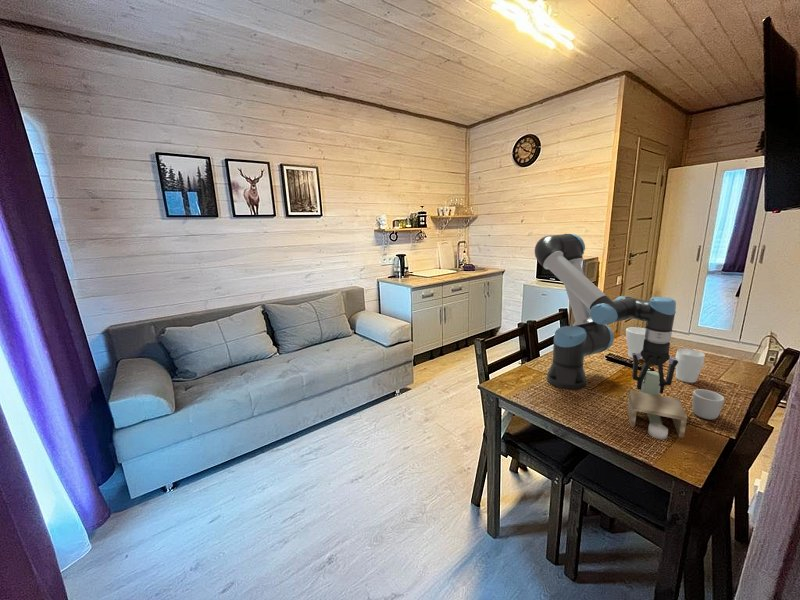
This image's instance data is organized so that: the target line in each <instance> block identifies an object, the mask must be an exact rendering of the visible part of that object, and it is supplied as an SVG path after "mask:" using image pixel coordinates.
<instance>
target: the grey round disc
mask: <svg viewBox="0 0 800 600" xmlns="http://www.w3.org/2000/svg"><path fill="white" fill-rule="evenodd" d="M647 428H648V429H647V434H649V436H651V437H653V438H654V439H658V440H666V439H667V438H668V434H669V429H668V427H666V426H665V425H661V424H657V423H650V422H649V424H648V427H647Z"/></svg>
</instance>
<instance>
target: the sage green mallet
mask: <svg viewBox="0 0 800 600" xmlns="http://www.w3.org/2000/svg"><path fill="white" fill-rule="evenodd" d="M659 379H660V376H659V373H658V371H653V370H647V372H646V375H645V377H644V379H643V380H644V383H645V385H644V391H643V393H648V394H654V395H657V392H658V386H659V383H660V382H659ZM646 414H647V418H648V421H649V424H650V423H657V424H661V425H663V422H662V418H661V416H659V415H654V414H649V413H646ZM663 426H664V425H663Z"/></svg>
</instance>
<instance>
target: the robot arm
mask: <svg viewBox="0 0 800 600" xmlns="http://www.w3.org/2000/svg"><path fill="white" fill-rule="evenodd" d="M585 250H586V244H585V242H584V239H582V237H581V236H580V235H577V234H575V233H563V234H553V235H552V234H551V235H545V236H543V237H541V238H540V239H539V240H538V241H537V242H536V244H535V247H534V255H535V259H536V261H537V262H538V263H539V264H540V265H541V267H543V269H545V270H549V271H550V272H551V273H552V274H553V275H554V276H555V277H556V278H557V279H558V280H560V282H561V283H562V284H564V287H565V288H564V289H565V291H566V295H567V298H568V300H569V301H568V302H569V304H570V307H571V310H572V311H571V312H572V314H573V317H574V320H575V321H574V323H573V324H572V325H570V326H569V325H564V326H561V327H558V328H557V329H556V330H555V332H554V337H553V347H552V349H553V350H552V363H551V365H550V367H549V369H548V370H547V374H546V380H547V382H548V383H550V384H551V385H552V386H554V387H557V388H559V389H563V390H570V391H571V390H573V391H574V390H575V391H577V390H582V389H585V388H586V386H587V381H588V380H587V375H586V372H585V369H584V361H585V357H587V356H590V355H594V354H599V353H603V352H605V351H607V350H609V349H610V348H611V347H612V346H613V345H614V340H615V339H614V338H615V336H614V331H613V330H612V328H611V327H610V326H608V325H612V324H613V323H616V322H617V323H618V322H623V321H627V320H630V319H634V320H637V321H638V320H639V321H643V322H646V323H645V329H646V330H645V336H644V337H645V339H644V344H643V350H642V351H641V353H637V354H635V353H633V354H632V356H633V358H632V359H633V361H632V362H633V365H632V380H634V381H636V382H637V383H636V388H637V390H639V392H642V393H643V391H644V385H645V383H644V380H643V379H644V377H645V375H646V372H647V371H649V370H648V369H649V368H650V366H657V372H658V373H659V376H660V379H659V386H658V392H657V395H659V396H660V394H663V393H664V390H665V387H666V386H672V381H673V377H674V374H675V370H676V365H677V364H678V361H677V359H676V357H671V356H670V354H669V352H670V348H671V343H670V342H671V340H672V334H673V327H674V322H675V321H674V320H675V315H676V313H677V312H676V309H677V301H676V300H675V299H673V298H671V297H667V296H652V297H650V299H649V300H645V299H642V298H641V299H640V298H635V297H633V296H632V297H631V296H624V295H621V296H617V297H616V298H615V299H614V300H612V299H611V298H610V297H608V296H607V294H606V293H604V292H603V291H602V290H601V289H600V288H599V287H597V286H596V285H595V283H593V281H591V280H590V279H589V278H588V277H587V276H586V275H585V274H584V269H583V268H582V262H583V260H584V258H583V255H584V253H585ZM641 356H642V357H643V360H644V362H643V365H642V367H641V370H640V372H639V373H638V370H639V369H638V368H639V360H641V359H640V357H641ZM666 362H668V367H667V372H666V373H667V374H666V378H665V377H664V366H663V365H664V364H665V363H666Z"/></svg>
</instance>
